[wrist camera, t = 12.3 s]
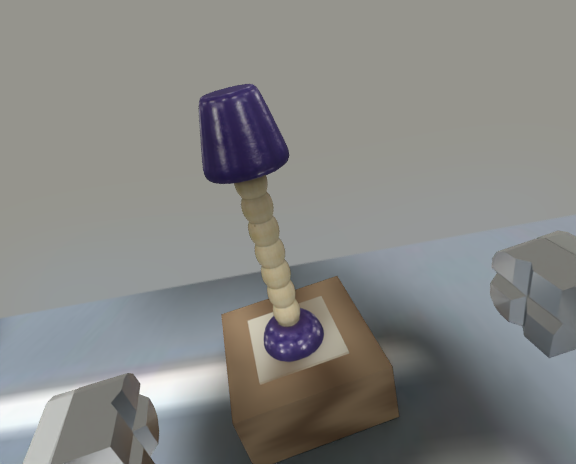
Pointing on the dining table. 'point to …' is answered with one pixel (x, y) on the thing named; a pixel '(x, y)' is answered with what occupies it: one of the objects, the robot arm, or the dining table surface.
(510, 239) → the dining table surface
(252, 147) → the toy lamp
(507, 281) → the robot arm
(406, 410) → the dining table surface
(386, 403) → the cardboard box
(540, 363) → the dining table surface
